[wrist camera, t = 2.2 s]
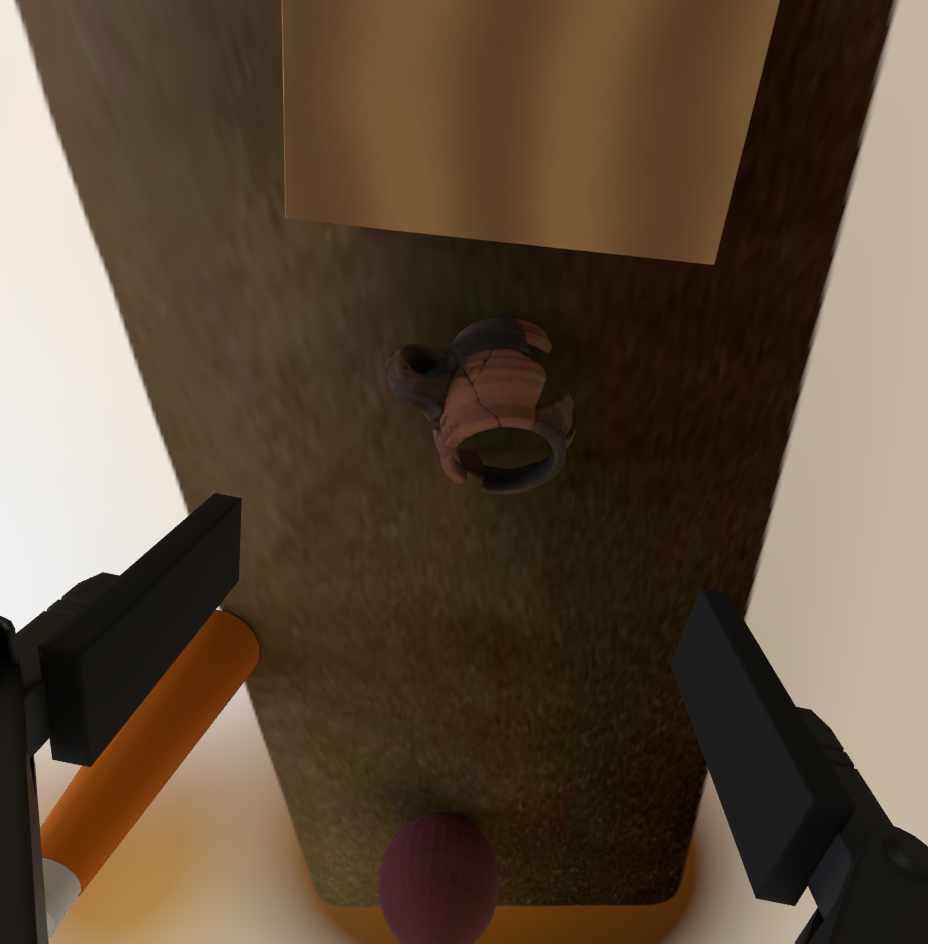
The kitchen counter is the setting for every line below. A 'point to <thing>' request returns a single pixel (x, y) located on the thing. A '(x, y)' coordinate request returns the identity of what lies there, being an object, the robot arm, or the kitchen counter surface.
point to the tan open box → (523, 118)
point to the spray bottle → (141, 759)
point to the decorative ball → (438, 881)
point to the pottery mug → (485, 398)
